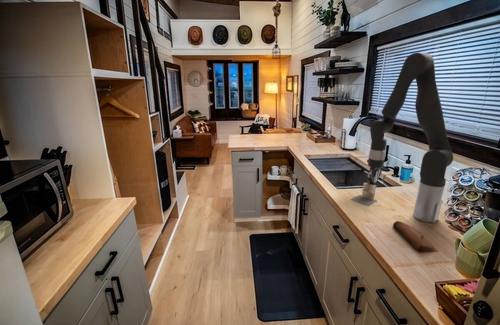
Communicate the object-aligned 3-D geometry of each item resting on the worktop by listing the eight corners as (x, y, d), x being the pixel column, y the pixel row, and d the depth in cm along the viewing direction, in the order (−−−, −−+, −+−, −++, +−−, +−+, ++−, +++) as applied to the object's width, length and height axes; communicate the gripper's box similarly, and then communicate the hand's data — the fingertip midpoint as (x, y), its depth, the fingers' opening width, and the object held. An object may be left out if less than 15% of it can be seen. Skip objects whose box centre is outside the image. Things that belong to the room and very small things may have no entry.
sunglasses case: (440, 252, 96) (434, 239, 94) (422, 260, 97) (416, 247, 95) (411, 226, 113) (405, 214, 111) (396, 233, 114) (390, 222, 112)
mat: (377, 201, 136) (377, 200, 136) (368, 207, 130) (368, 206, 130) (359, 195, 144) (359, 194, 144) (350, 200, 138) (350, 199, 138)
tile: (373, 199, 138) (376, 185, 135) (372, 200, 137) (374, 186, 134) (363, 195, 142) (365, 182, 140) (361, 196, 141) (363, 183, 139)
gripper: (377, 161, 128) (372, 193, 133) (389, 156, 136) (384, 187, 141) (363, 158, 134) (359, 188, 139) (375, 154, 142) (371, 183, 147)
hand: (372, 187), depth 140 cm, fingers closed
